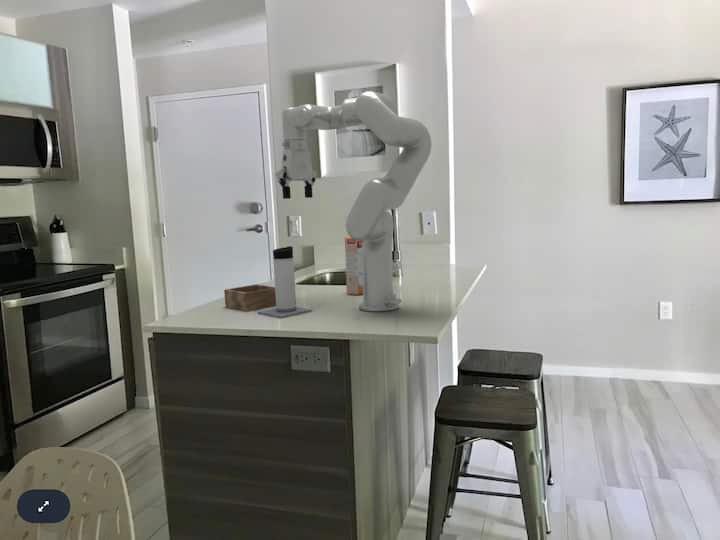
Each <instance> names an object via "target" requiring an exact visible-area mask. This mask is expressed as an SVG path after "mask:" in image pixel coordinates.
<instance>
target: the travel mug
mask: <svg viewBox="0 0 720 540" xmlns="http://www.w3.org/2000/svg"><path fill="white" fill-rule="evenodd" d="M293 247H294V246H286V247H279V248H275V249H273V250H272V256H273V258H272V259H273V275H274V277H273V278H274V287H275V296H276V306H275V308H276V311H278V312H292V311H295V310H296V307H297V302H296V301H297V298H296V285H295V284H296V282H295V281H296V280H295V264H294V250H293V249H294V248H293Z"/></svg>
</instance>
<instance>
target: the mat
mask: <svg viewBox="0 0 720 540" xmlns="http://www.w3.org/2000/svg"><path fill="white" fill-rule="evenodd" d="M312 310H313V309H310V308H306V307H300V306H296V310H295V311H292V312H278V311H276V307H273V308H270V309H269V308H268V309H266V310H259V311H257V314H258V315H264V316H268V317H273V318H277V319H278V318H279V319H284V318H288V317H292V316H297V315H302V314H307V313H311V312H313V311H312Z"/></svg>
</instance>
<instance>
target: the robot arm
mask: <svg viewBox="0 0 720 540" xmlns="http://www.w3.org/2000/svg"><path fill="white" fill-rule="evenodd" d="M396 112H397V105H396V102H395V100H394V99H393V98H392V97H391V96H390V95H387V94H386V93H382V92H376V91H371V90H370V91H363V92H362V93H361V94H359V95H358V96H357V97H349V98H348V97H347V98H346V99H344V100H343V101H342V103H341V105H334V106H333V105H332V106H322V105H316V104H309V103H306V104H301V105H298V106H296V107H286V108H284V109H283V110H282V112H281V119H282V133H283V142H281V146H282V147H283V150H282V155H281V168H280V169H279V170H278V171H276V172H275V173H274V175H275V177H276V179H277V182H278V183H279V184H280V187H281V188H282V189H281V190H282V198H283V200H286V199H291V198H292V197H291V196H292V195H291V186H290V183H291V182H293V181H298V182H299V181H302V182H303V183H304V197H305V198H307V199H308V198H313V186H314V183H315V182H316V178H317V175H318V172H316V171H315V170H314V169H313V165H312V159H311V153H310V151H309V149H307V148H308V147H307V131H306V130H307V129H309V130H320V131H330V130H339V129H341V130H342V129H346V128H351V127H358V126H366V127H367V128H368V129H369V130H370V131H371V133H373V134H374V135H375V136H376V137H377V138H378V139H379V140H380V141H381V142H383V143H384V144H385V145H386V146H389V147H392V148H393V147H394V148H402V150H401V152H400V153H399V154H398V156H397V157H395V159H394V160H393V162H392V163H391V166H390V168H389V169H388V171H387V173H386V174H385V176H383V177H375V178H372V179H370V180H369V181H367V182H366V184H364V185H363V187H362V188H361V190H360V192H359V194H358V196H357V198H356V200H355V201H354V203H353V205H352V207H351V208H350V211H349V213H348V215H347V217H346V221H345V230H346V233H347V235H348V237H351V238H352V239H354V240H357V241H363V245H362V275H363V294H362V295H363V302H360V303H359V304H358V309H359V310H360V311H364V312H386V311H393V310H396V309H398V308H399V305H400V304H402V299H401V298H398V297H397V295H396V293H394V280H393V279H394V276H393V238H394V237H393V236H394V235H393V234H394V229H395V228H394V224H395V223H394V219H393V216H392V215H391V213H390V212H389V211H388V210H395V209H398V208H400V207H401V206H402V205H403V204H404V202H405V201H406V199H407V197H408V195H409V193H410V192H411V190H412V188H413V186H414V184H416V181H417V179H418V177H419V175H420V173H421V171H422V170H423V168H425V167H424V166H425V165H426V163H427V161H428V159H429V157H430V154H431V150H432V137H431V134H430V132H429V130H428V128H427V127H426V126H425V124H423V122H421V121H419V120H416V119H414V118H411V117H410V118H409V117H404V116H399V115H398V114H396Z"/></svg>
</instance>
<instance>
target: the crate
mask: <svg viewBox="0 0 720 540" xmlns="http://www.w3.org/2000/svg"><path fill="white" fill-rule="evenodd" d="M224 303H225V308H227V307H229V308H228V309H232V308H233V309H232V310H236V311H238V310H239V311H242V312H246V313H248V312H252V311H253V312H254V311H257V310H262V309H266V308H268V309H269V308H272V307H273V308H274V307H276V296H275V286H270V285H263V284H259V283H258V284H257V283H256V284H250V285H245V286H238V287H233V288H231V287H230V288H225V289H224Z"/></svg>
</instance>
